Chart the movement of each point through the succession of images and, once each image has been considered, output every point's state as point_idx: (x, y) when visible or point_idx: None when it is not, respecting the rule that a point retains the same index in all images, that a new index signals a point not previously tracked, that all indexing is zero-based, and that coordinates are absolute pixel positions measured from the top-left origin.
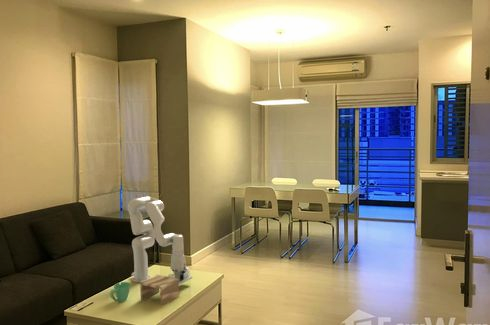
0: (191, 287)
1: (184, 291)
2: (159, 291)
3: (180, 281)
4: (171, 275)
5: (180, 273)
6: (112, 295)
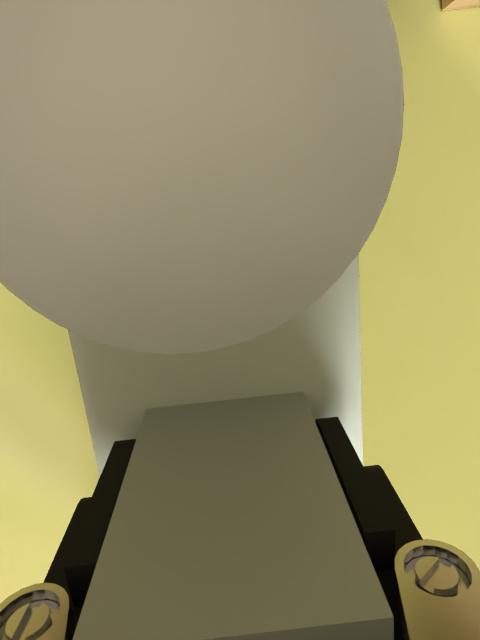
0: (71, 498)
1: (21, 310)
2: (443, 7)
3: (138, 425)
4: (110, 55)
5: (63, 631)
6: None
